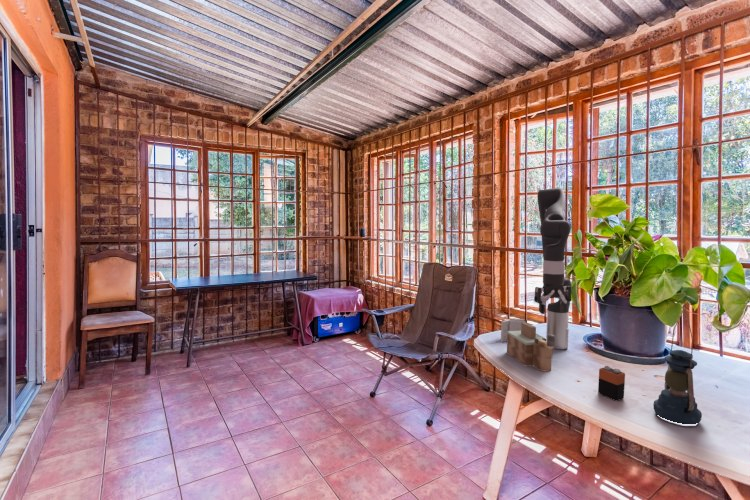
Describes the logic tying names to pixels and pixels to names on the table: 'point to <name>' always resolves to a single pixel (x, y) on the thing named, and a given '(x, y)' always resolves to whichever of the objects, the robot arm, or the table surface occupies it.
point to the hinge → (510, 327)
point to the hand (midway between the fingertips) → (552, 312)
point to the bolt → (548, 341)
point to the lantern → (678, 388)
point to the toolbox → (530, 353)
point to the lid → (526, 334)
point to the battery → (611, 383)
